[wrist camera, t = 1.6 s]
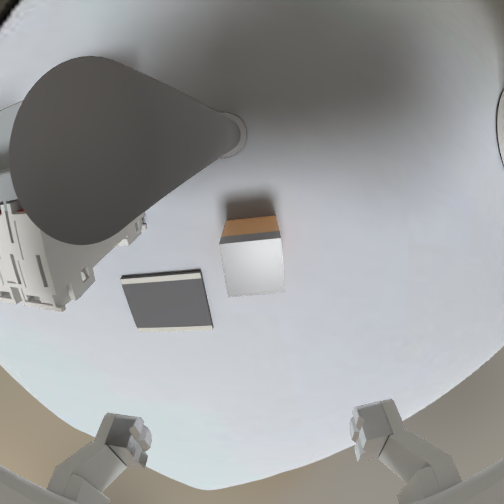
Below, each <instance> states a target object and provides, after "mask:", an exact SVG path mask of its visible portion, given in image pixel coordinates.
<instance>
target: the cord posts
mask: <svg viewBox="0 0 504 504" xmlns="http://www.w3.org/2000/svg"><path fill="white" fill-rule="evenodd" d="M246 138H247V131H246V127H245V125H244V123H243V122H242V121H241V119H239V118H238V117H237V116H235V115H233V114H231V113H226V112H221V113H219V112H217V111H215V110H213V109H211V108H210V107H208V106H206V105H204V104H202V103H200V102H199V101H197V100H195V99H193V98H191V97H189V96H187V95H185V94H183V93H181V92H180V91H178V90H176V89H174V88H172V87H170V86H168V85H166V84H164V83H161V82H159V81H157V80H155V79H153V78H151V77H149V76H147V75H145V74H142V73H140V72H138V71H136V70H134V69H131V68H129V67H127V66H125V65H122V64H120V63H118V62H115V61H113V60H110V59H106V58H103V57H95V56H86V57H78V58H74V59H70V60H68V61H65V62H63V63H61V64H59V65H57V66H56V67H54V68H52V69H51V70H50V71H48V72H47V73H46V74H44V75H43V76H42V77H41V78H40V79H39V80H38V81H37V82H36V83H35V85H34V86H33V87H32V88H31V90H30V91H29V92H28V94H27V95H26V97H25V99H24V100H23V102H22V104H21V106H20V108H19V110H18V112H17V115H16V118H15V120H14V124H13V128H12V132H11V137H10V145H9V167H10V174H11V179H12V183H13V187H14V190H15V193H16V196H17V198H18V200H19V202H20V204H21V206H22V208H23V209H24V211H25V213H26V214H27V215H28V217H29V218H30V219H31V221H32V222H33V223H34V224H35V225H36V226H37V227H38V228H39V229H40V230H42V231H43V232H44V233H45V234H47V235H49V236H50V237H52V238H54V239H56V240H58V241H61V242H64V243H68V244H73V245H90V244H95V243H99V242H101V241H104V240H106V239H109V238H110V237H112V236H114V235H115V234H117V233H118V232H120V231H121V230H122V229H123V228H124V227H126V226H127V225H128V224H129V223H131V222H132V221H133V220H134V219H136V218H137V217H138V216H140V215H141V214H142V213H143V212H145V211H146V210H147V209H149V208H150V207H151V206H152V205H154V204H155V203H156V202H158V201H159V200H160V199H162V198H163V197H164V196H166V195H167V194H168V193H170V192H171V191H173V190H174V189H175V188H177V187H178V186H179V185H181V184H182V183H184V182H185V181H186V180H188V179H189V178H191V177H192V176H194V175H195V174H196V173H198V172H199V171H201V170H202V169H204V168H205V167H207V166H208V165H210V164H211V163H213V162H214V161H216V160H217V159H219V158H228V157H231V156H233V155H235V154H237V153H238V152H239V151H240V150H241V149H242V148H243V146H244V145H245V142H246Z"/></svg>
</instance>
